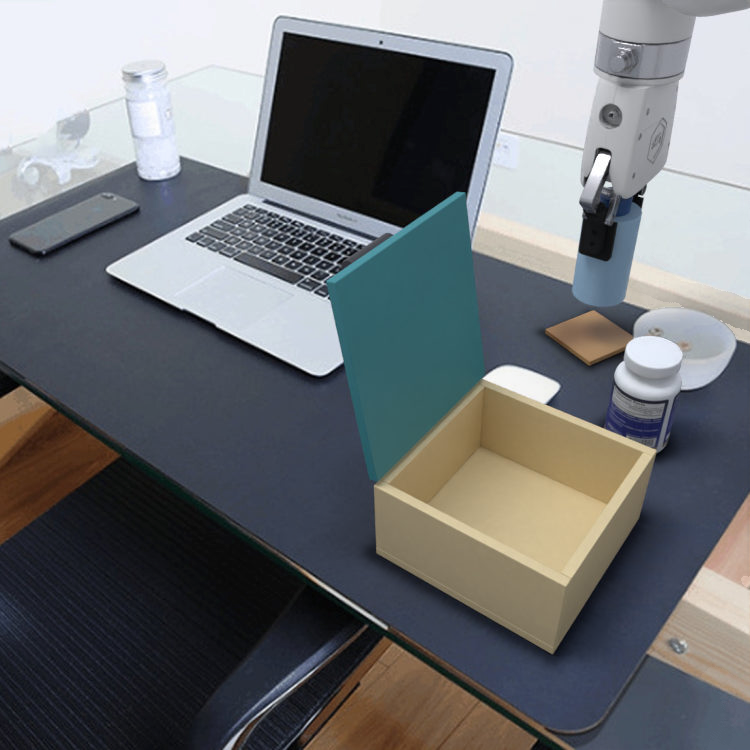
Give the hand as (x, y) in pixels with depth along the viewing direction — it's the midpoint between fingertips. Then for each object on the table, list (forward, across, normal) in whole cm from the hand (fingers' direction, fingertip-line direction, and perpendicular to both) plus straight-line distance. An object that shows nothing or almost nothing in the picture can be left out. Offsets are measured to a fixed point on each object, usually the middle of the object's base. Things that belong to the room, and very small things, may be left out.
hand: (608, 241), depth 79 cm
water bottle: (+6, 0, 0) cm, 6 cm away
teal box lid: (-5, -29, +3) cm, 30 cm away
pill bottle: (+12, -12, -10) cm, 20 cm away
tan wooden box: (+12, -29, -6) cm, 32 cm away
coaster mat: (+12, 0, 0) cm, 12 cm away
